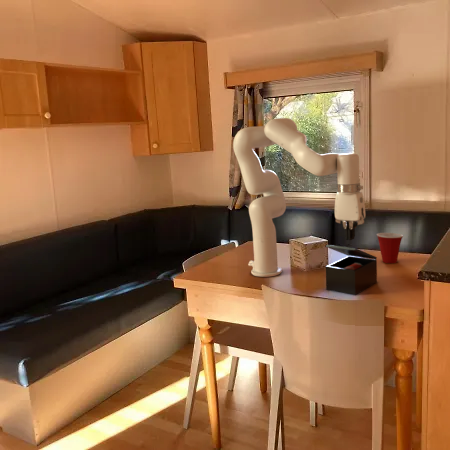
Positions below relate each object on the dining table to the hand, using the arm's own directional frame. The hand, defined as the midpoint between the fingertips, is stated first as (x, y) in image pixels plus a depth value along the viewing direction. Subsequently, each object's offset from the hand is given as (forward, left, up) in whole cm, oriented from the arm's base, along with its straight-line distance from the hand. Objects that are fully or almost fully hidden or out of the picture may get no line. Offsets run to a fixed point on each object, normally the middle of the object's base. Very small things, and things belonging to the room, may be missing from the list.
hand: (350, 239), depth 178 cm
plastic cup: (-2, +38, -18) cm, 42 cm away
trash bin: (0, +1, -18) cm, 18 cm away
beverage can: (-1, 0, -17) cm, 17 cm away
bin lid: (0, +1, -5) cm, 6 cm away
